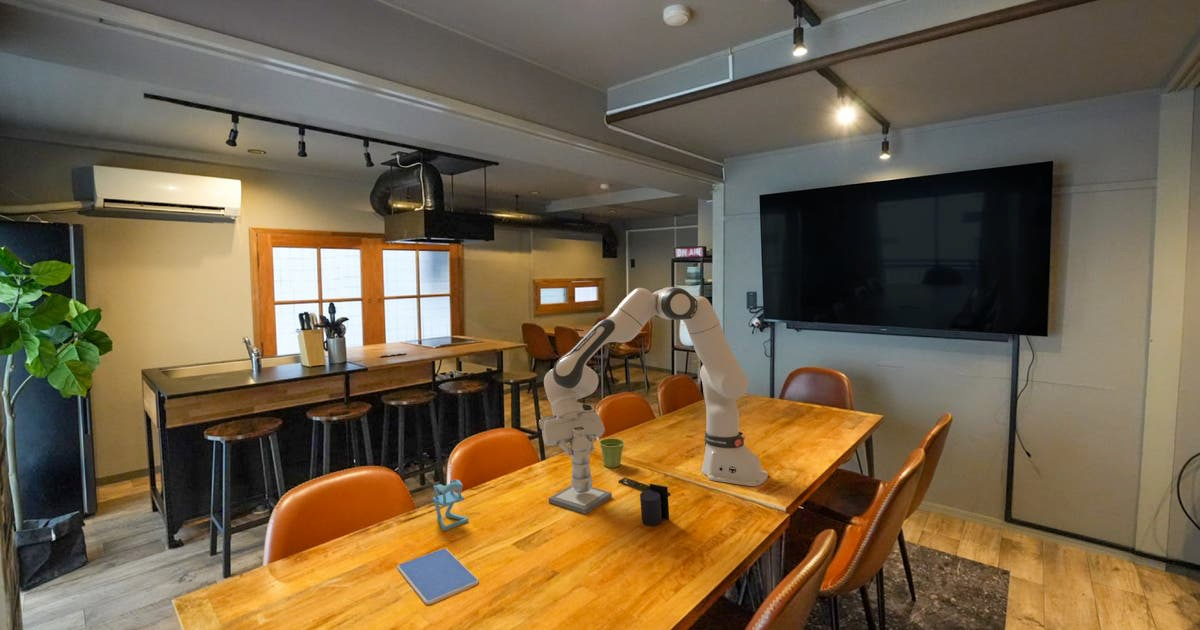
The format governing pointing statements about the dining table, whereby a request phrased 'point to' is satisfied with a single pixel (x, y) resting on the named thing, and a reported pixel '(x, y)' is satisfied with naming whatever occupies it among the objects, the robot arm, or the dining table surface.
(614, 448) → the plant pot
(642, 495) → the speaker
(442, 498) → the chair
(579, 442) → the plastic bottle
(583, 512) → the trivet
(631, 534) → the dining table surface
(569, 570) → the dining table surface
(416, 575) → the tablet computer
